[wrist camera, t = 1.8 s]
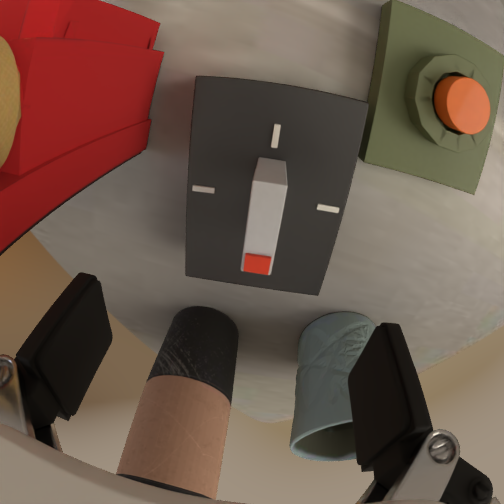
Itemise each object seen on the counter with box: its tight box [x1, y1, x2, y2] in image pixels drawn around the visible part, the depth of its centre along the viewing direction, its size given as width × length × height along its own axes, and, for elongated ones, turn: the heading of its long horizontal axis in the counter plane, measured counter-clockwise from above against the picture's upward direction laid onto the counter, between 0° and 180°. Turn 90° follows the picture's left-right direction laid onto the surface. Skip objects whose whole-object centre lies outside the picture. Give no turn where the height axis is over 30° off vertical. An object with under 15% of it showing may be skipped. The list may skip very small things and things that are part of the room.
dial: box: [241, 157, 288, 275], centre depth 16 cm, size 5×2×5 cm, turn 173°
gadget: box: [185, 76, 369, 296], centre depth 20 cm, size 14×10×4 cm
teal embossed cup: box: [290, 312, 376, 461], centre depth 25 cm, size 10×10×12 cm
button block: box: [358, 0, 504, 195], centre depth 15 cm, size 12×10×4 cm
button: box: [434, 76, 490, 134], centre depth 13 cm, size 4×4×2 cm
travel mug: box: [116, 307, 238, 500], centre depth 22 cm, size 8×8×20 cm
